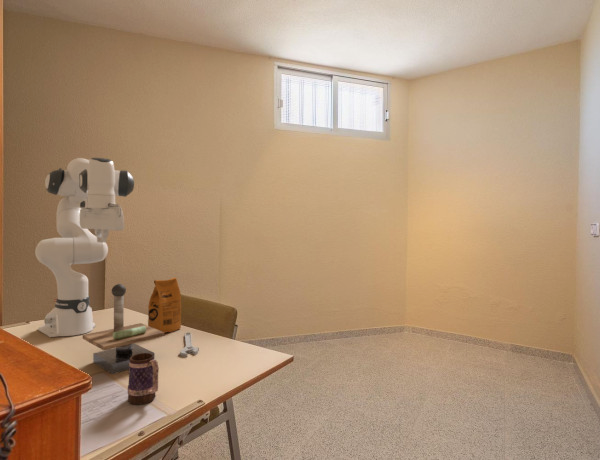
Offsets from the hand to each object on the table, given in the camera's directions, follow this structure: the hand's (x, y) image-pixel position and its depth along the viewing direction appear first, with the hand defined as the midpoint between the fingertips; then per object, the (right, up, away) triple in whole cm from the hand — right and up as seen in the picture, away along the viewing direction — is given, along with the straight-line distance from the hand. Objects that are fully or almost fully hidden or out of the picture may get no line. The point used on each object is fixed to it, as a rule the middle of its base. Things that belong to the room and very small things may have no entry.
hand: (101, 242), depth 141 cm
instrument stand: (+12, -40, -9) cm, 42 cm away
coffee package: (+13, -39, +27) cm, 49 cm away
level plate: (+12, -31, -9) cm, 34 cm away
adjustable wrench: (+29, -40, +10) cm, 50 cm away
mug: (+29, -42, -35) cm, 62 cm away
